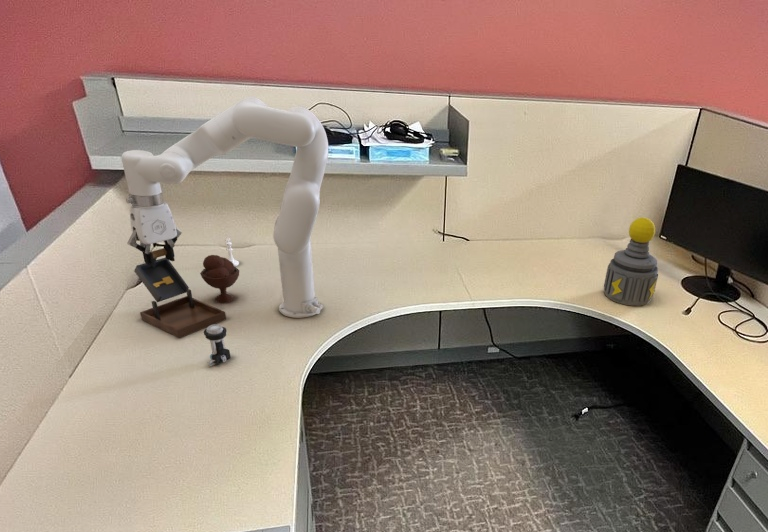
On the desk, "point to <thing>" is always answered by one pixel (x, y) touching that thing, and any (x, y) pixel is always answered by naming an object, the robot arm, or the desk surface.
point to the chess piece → (231, 252)
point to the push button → (217, 344)
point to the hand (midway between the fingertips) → (160, 262)
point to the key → (164, 281)
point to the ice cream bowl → (220, 275)
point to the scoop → (157, 273)
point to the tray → (182, 315)
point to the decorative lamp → (633, 268)
